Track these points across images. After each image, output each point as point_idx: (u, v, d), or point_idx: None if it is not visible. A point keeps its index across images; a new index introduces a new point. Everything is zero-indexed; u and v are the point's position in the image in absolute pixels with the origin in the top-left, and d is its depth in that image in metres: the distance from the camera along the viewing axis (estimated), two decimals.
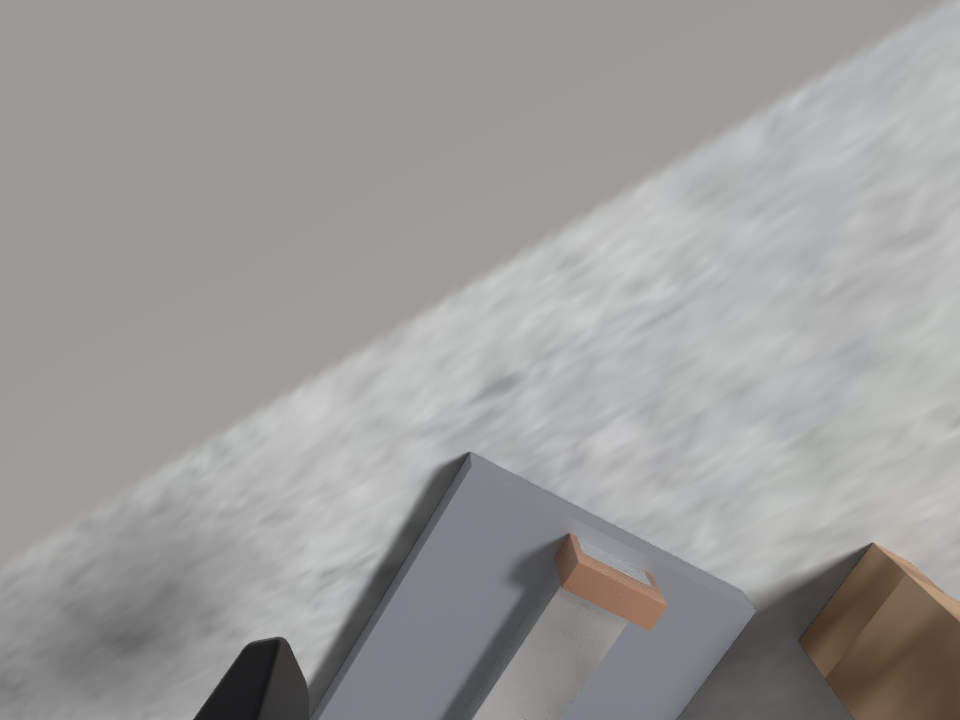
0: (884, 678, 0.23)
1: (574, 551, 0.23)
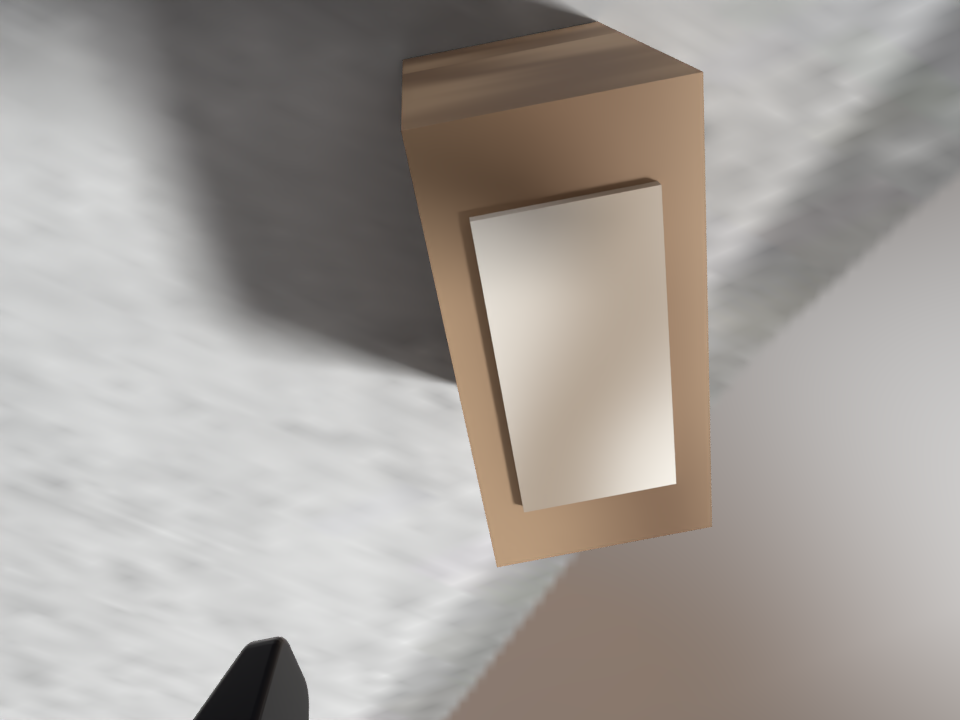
0: (488, 73, 0.14)
1: None
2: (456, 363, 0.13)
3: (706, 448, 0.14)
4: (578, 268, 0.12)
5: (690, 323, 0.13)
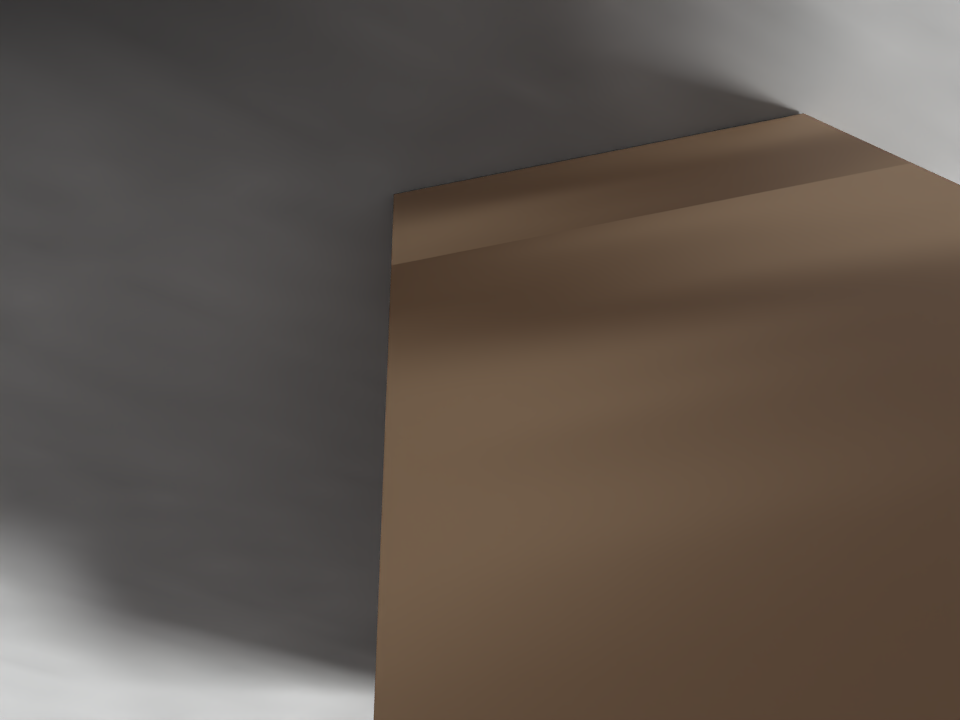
0: (633, 324, 0.05)
1: None
2: None
3: None
4: None
5: None
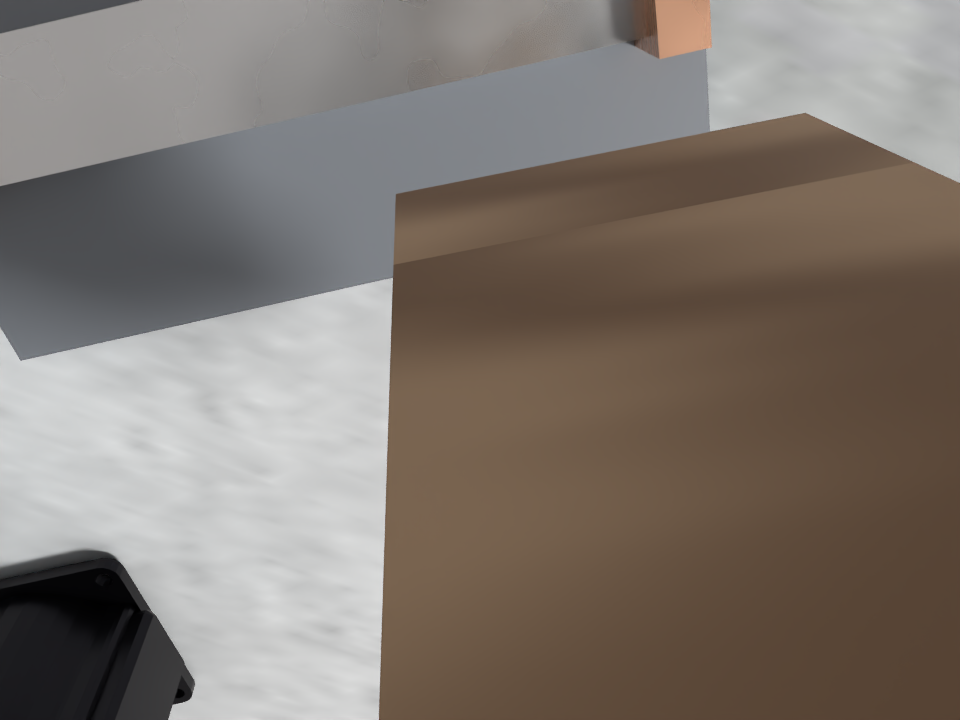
0: (636, 322, 0.05)
1: None
2: None
3: None
4: None
5: None
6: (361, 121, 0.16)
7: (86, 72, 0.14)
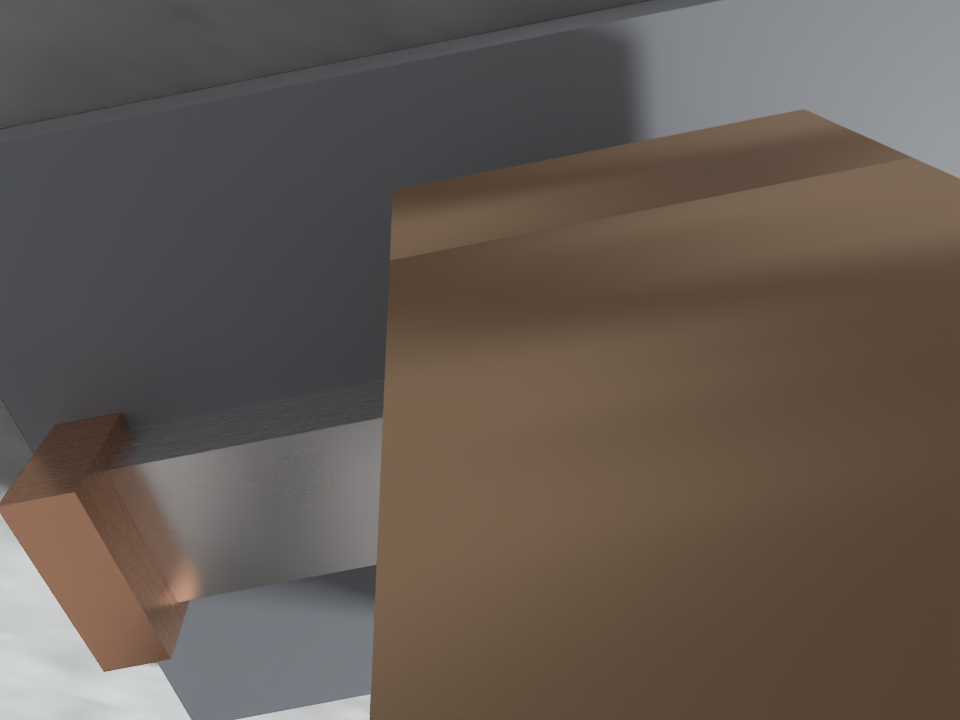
0: (632, 316, 0.05)
1: None
2: None
3: None
4: None
5: None
6: None
7: (365, 478, 0.11)
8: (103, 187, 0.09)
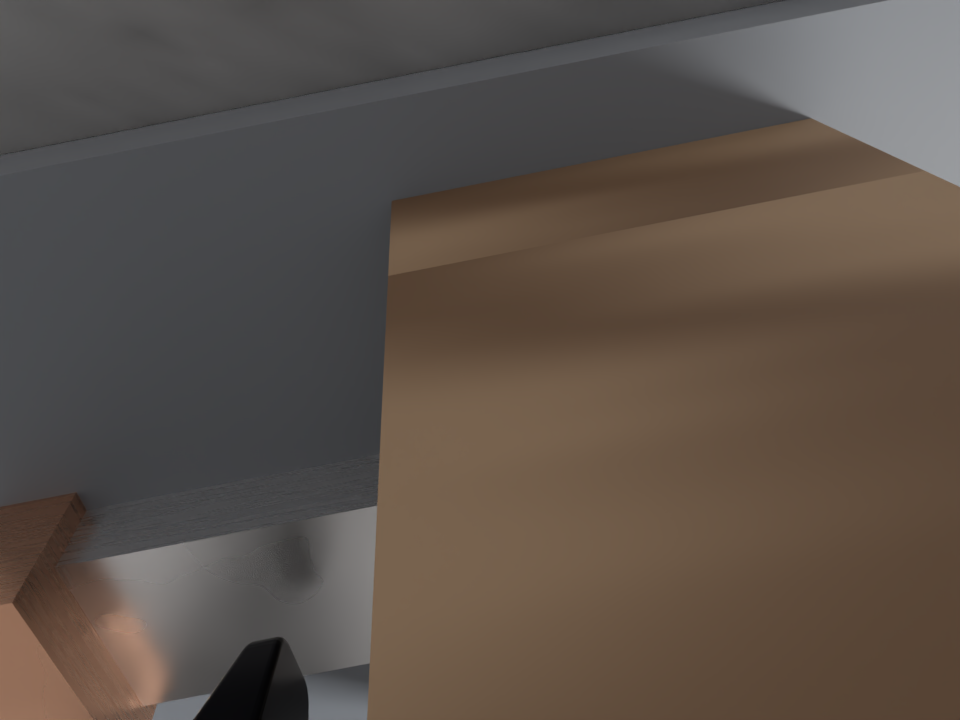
0: (639, 340, 0.05)
1: None
2: None
3: None
4: None
5: None
6: None
7: (357, 571, 0.09)
8: (46, 242, 0.08)
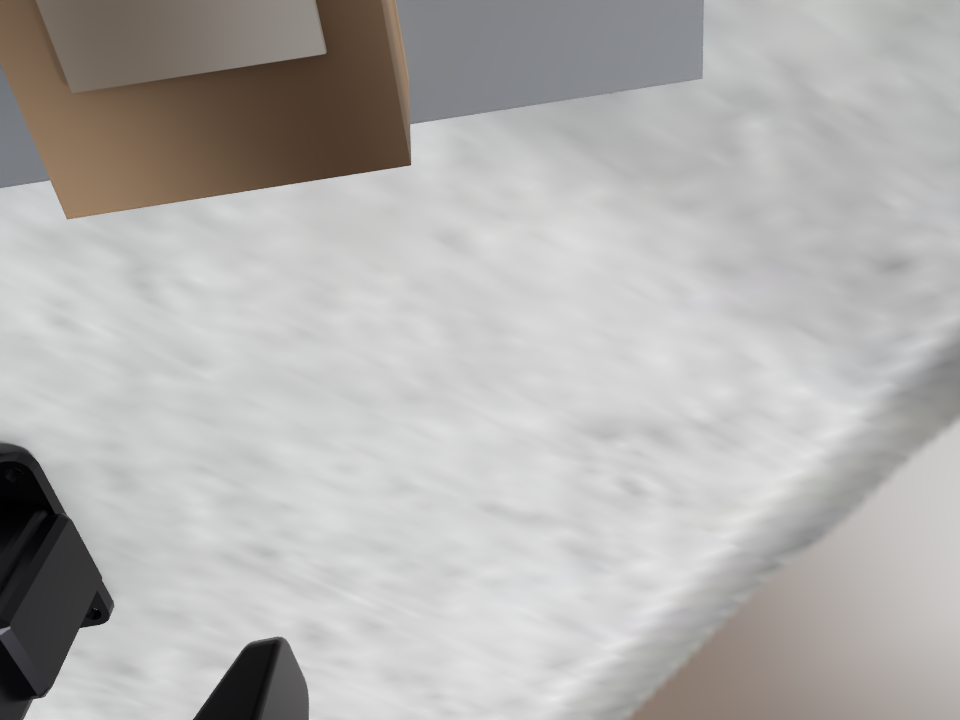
0: None
1: None
2: None
3: None
4: None
5: None
6: None
7: None
8: None
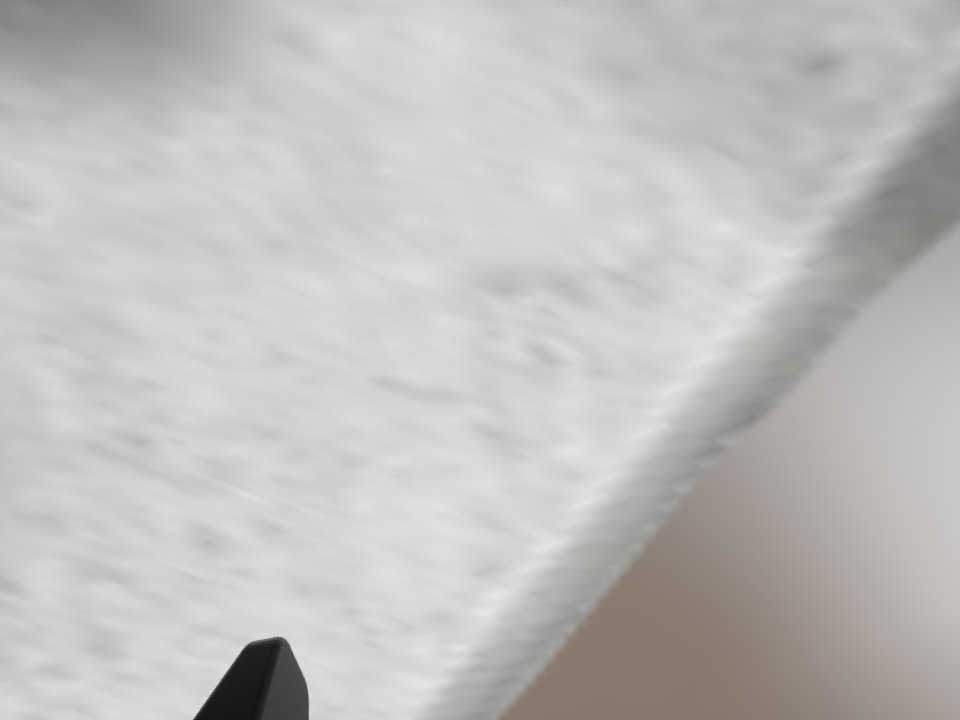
0: None
1: None
2: None
3: None
4: None
5: None
6: None
7: None
8: None
